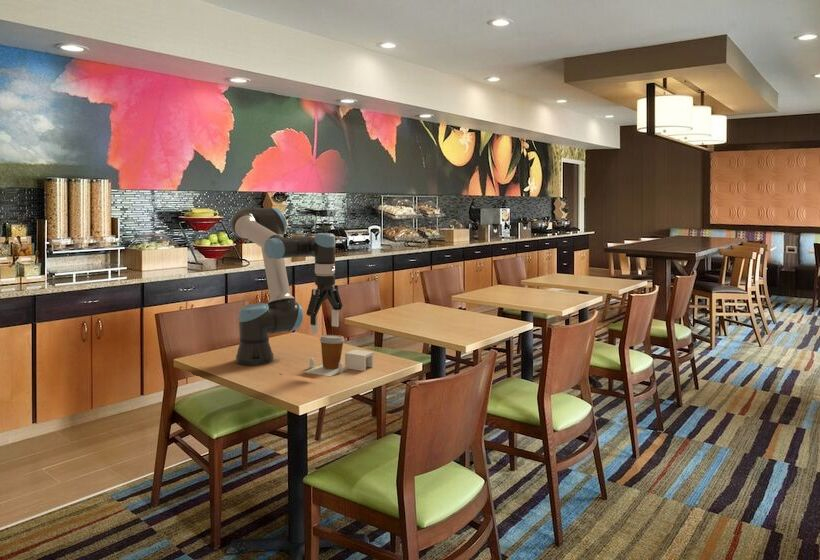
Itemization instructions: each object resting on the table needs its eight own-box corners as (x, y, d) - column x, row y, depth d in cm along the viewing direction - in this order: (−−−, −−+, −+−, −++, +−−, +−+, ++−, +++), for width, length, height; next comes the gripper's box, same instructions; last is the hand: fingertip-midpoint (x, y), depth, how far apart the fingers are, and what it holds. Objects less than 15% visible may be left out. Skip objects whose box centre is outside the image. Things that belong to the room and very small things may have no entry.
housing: (345, 368, 245) (345, 353, 245) (354, 364, 251) (354, 349, 250) (364, 371, 241) (364, 355, 241) (373, 367, 247) (373, 352, 246)
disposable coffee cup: (339, 370, 240) (340, 339, 239) (315, 368, 242) (316, 337, 241) (346, 366, 249) (347, 335, 249) (323, 364, 251) (324, 334, 250)
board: (300, 375, 240) (300, 361, 240) (329, 363, 257) (329, 351, 256) (347, 382, 231) (347, 369, 230) (373, 370, 248) (373, 357, 247)
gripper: (313, 279, 224) (313, 337, 228) (351, 271, 246) (351, 324, 250) (296, 277, 228) (296, 334, 231) (335, 270, 250) (335, 322, 253)
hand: (325, 329), depth 240 cm, fingers open, 13 cm apart
